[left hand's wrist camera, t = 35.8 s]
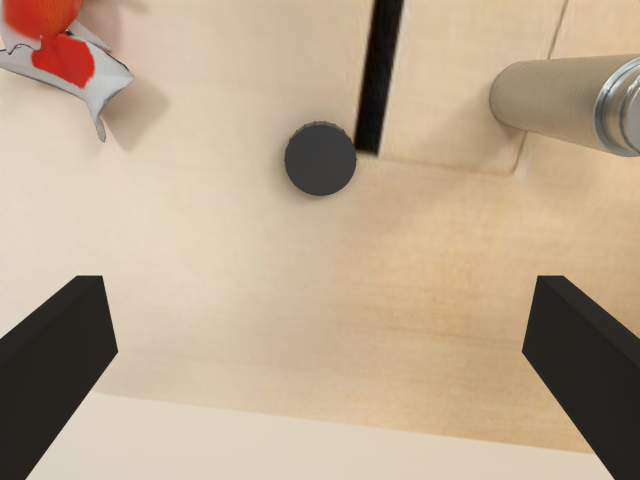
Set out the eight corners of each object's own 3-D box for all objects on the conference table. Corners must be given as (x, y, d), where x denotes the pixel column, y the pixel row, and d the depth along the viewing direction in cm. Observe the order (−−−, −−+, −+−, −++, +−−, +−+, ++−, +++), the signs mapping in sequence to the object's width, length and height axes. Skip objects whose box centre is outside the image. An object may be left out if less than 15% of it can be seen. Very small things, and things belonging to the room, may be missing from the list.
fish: (164, -72, 29) (35, -50, 22) (179, 127, 40) (97, 182, 33) (41, -115, 31) (-112, -107, 24) (89, 86, 42) (-6, 130, 35)
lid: (343, 197, 40) (345, 204, 38) (278, 179, 40) (276, 186, 38) (363, 131, 38) (366, 135, 36) (295, 112, 38) (293, 114, 35)
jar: (492, 133, 38) (618, 176, 22) (485, 70, 36) (618, 68, 20) (554, 117, 38) (727, 149, 22) (550, 53, 36) (738, 36, 20)
